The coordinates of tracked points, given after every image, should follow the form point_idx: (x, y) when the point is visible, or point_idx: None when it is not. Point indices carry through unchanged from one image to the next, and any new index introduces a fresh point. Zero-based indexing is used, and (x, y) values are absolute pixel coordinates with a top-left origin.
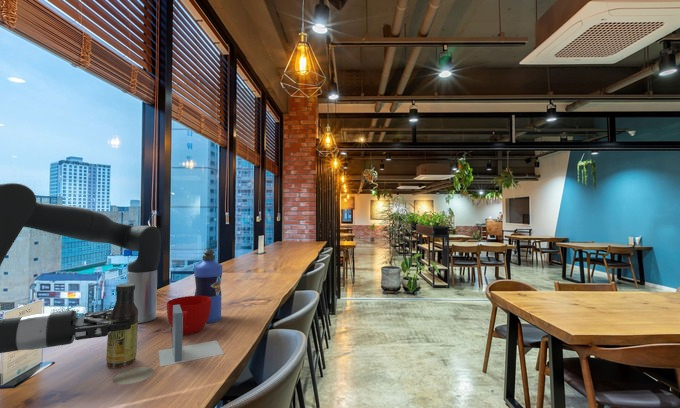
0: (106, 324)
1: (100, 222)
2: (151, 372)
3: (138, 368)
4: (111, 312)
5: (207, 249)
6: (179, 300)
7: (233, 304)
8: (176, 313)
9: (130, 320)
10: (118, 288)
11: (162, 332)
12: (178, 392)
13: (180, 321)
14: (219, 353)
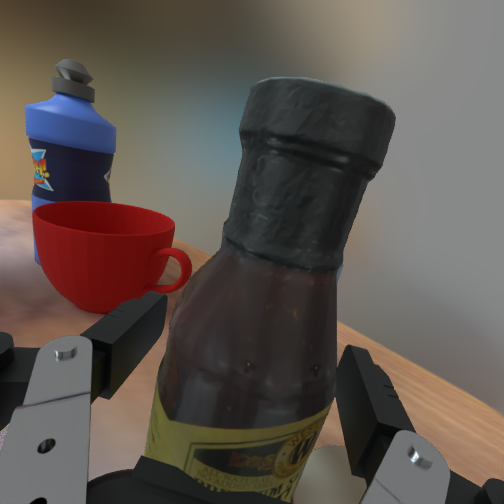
0: (499, 491)
1: None
2: None
3: (305, 484)
4: (75, 357)
5: (75, 61)
6: (43, 215)
7: None
8: (342, 264)
9: (363, 349)
10: (379, 127)
11: (16, 323)
12: (477, 444)
13: None
14: None
